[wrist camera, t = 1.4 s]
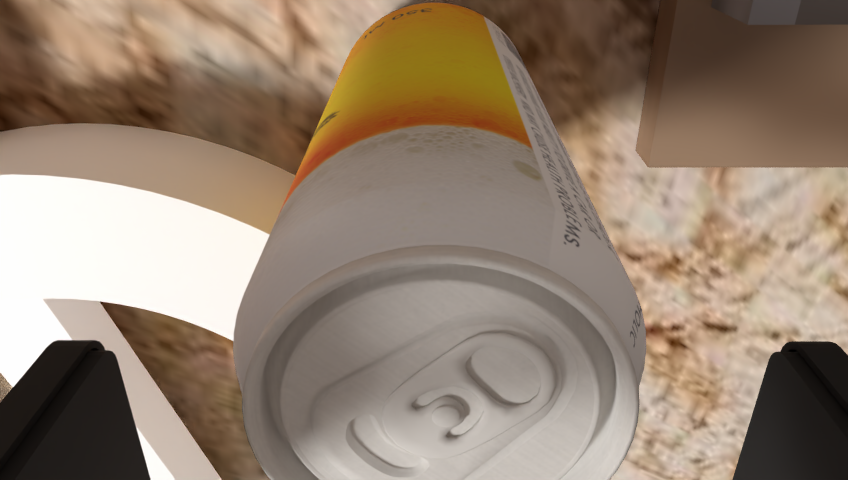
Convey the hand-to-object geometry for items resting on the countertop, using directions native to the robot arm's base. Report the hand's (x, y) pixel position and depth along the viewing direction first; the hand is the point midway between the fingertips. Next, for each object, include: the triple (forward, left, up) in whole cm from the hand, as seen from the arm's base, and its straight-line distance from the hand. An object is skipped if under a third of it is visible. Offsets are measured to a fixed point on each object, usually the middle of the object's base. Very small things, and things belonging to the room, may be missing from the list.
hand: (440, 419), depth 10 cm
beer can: (-1, 0, -15) cm, 15 cm away
